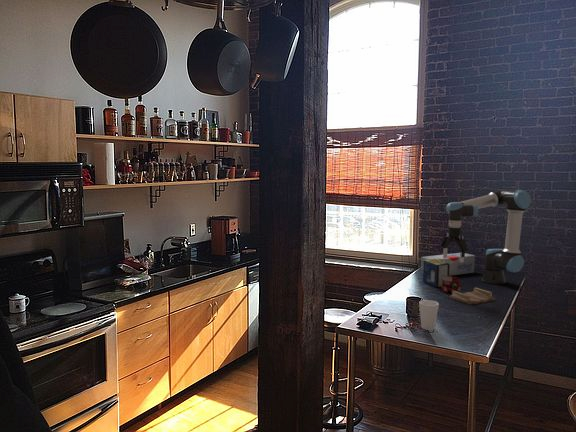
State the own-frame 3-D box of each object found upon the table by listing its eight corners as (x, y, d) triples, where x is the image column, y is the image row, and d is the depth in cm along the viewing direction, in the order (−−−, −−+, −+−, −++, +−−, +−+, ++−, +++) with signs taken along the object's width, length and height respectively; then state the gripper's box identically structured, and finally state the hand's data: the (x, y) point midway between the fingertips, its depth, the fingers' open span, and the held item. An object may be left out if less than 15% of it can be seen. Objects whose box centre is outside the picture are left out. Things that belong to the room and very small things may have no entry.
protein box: (435, 280, 339) (436, 258, 338) (449, 286, 325) (450, 263, 323) (422, 281, 336) (423, 259, 334) (435, 287, 322) (436, 264, 320)
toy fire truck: (459, 295, 304) (459, 278, 302) (439, 291, 311) (440, 276, 310) (462, 292, 309) (463, 276, 308) (443, 289, 316) (443, 274, 315)
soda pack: (462, 269, 374) (463, 252, 373) (475, 273, 363) (475, 255, 361) (419, 274, 359) (420, 255, 357) (431, 278, 347) (431, 259, 345)
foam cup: (415, 324, 248) (416, 300, 247) (433, 324, 249) (434, 299, 248) (422, 331, 239) (423, 305, 238) (440, 331, 240) (441, 305, 238)
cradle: (473, 293, 307) (473, 286, 306) (494, 300, 292) (494, 293, 292) (449, 297, 298) (450, 290, 297) (470, 304, 283) (470, 297, 283)
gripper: (435, 224, 313) (434, 257, 316) (466, 229, 291) (464, 264, 294) (444, 224, 317) (442, 256, 319) (475, 229, 295) (473, 263, 297)
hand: (453, 260), depth 307 cm, fingers open, 13 cm apart
